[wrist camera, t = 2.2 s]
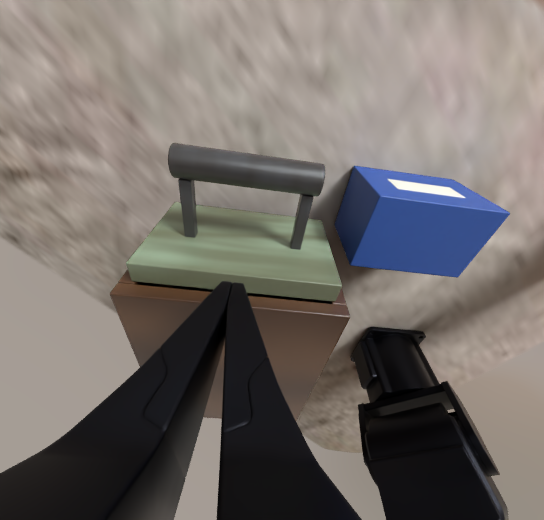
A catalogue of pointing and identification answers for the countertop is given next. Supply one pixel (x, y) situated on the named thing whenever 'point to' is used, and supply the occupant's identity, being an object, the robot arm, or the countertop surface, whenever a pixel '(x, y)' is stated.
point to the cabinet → (273, 327)
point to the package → (413, 222)
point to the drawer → (240, 231)
